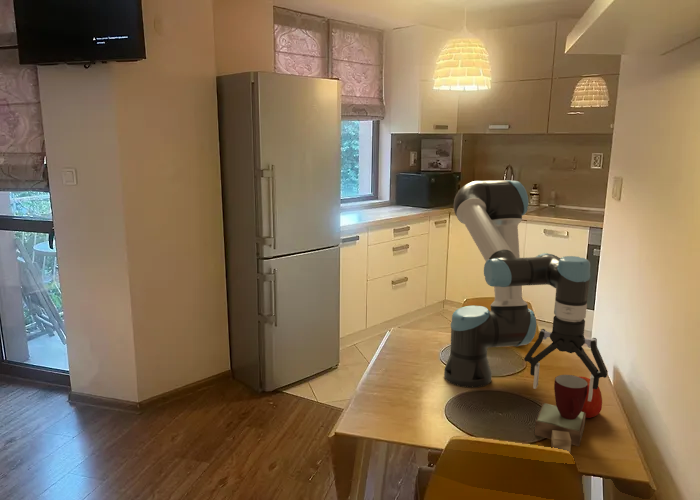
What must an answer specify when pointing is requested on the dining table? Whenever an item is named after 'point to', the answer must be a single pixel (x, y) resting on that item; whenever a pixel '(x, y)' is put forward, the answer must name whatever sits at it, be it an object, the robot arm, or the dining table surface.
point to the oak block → (561, 440)
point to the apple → (592, 402)
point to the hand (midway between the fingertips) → (562, 392)
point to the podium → (559, 424)
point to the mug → (570, 395)
